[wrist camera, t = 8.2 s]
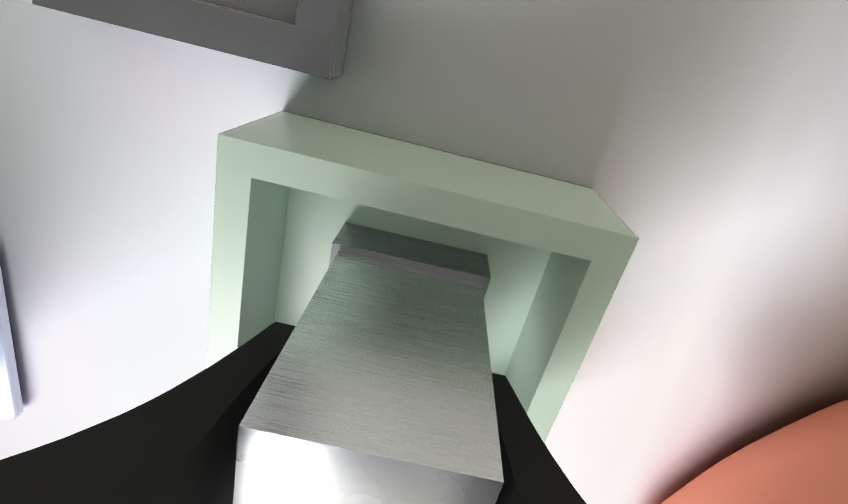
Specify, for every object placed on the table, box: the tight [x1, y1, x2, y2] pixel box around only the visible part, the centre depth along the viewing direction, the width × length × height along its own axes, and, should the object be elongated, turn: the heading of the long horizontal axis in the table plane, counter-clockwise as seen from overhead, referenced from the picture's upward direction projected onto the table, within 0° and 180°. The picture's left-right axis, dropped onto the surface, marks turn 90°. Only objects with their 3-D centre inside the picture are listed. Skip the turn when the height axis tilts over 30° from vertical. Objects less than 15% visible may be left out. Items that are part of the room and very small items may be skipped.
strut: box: [233, 222, 504, 504], centre depth 11 cm, size 4×4×8 cm
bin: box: [206, 111, 639, 443], centre depth 14 cm, size 10×10×4 cm
